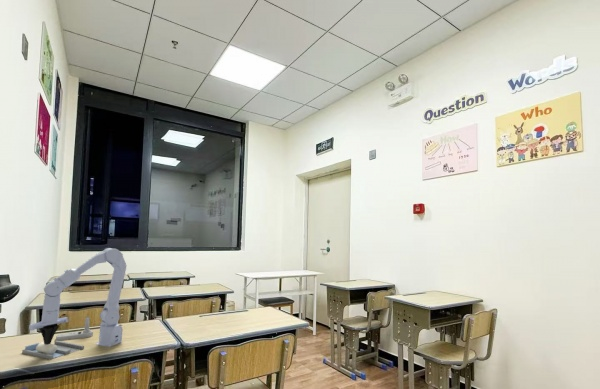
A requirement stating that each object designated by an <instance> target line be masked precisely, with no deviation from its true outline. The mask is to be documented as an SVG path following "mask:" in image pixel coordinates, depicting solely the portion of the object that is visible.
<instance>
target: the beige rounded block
mask: <svg viewBox="0 0 600 389" xmlns="http://www.w3.org/2000/svg"><path fill="white" fill-rule="evenodd" d="M38 343H39V344H38V345H37V347H36V351H37V352H40V353H44V354H49V355H52V354H54V353H55V352H56V350H57V346H56V345H55V344H54V343H51V344H44V341H42V342H38Z"/></svg>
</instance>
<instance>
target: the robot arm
mask: <svg viewBox="0 0 600 389" xmlns="http://www.w3.org/2000/svg"><path fill="white" fill-rule="evenodd" d="M104 263H105V264H106V263H108V264H110V266H112V268H113V273H112V277H111V281H110V286H109V290H108V294H107V298H106V302H105V304H104V306H103V309H102V310H101V311H100V314H99V318H100V320H101V322H100V324H99V334H98V336H99V337H98V342H95V343H94V345H97V346H101V347H112V346H115V345H118V344H121V343H123V342H124V341H123V340H122V339H123V331H124V330H123V327H122V326H121V325H120V324H119V320H120V318H121V317H120V304H119V301H120V298H121V294H122V288H123V284H124V279H125V275H126V270H127V263H126V261H125V258H124V254H123V252H121V251H120V250H119V249H117V248H111V247H106V248H104V250H101V251H99V252H98V253H96V254H95V255H94V256H92V257H91V258H89V259H88V260H86V261H85V262H84V263H82V264H80V265H79V266H78V267H77V268H70V269H66V270H64V273H63V274H61V275H59V276H58V277H54V278H53V280H52V281H49V282H47V283H46V284H45V286H44V288H43V291H44V298H43V303H42V304H43V305H42V312H41V313H42V315H41V321H39V322H36V323H31V324H29V325H28V326H29V327H28V330H29V331H35V330H39V331H40V334H41V337H42V339H43V342H44V344H52V340H53V339H54V336H55V335H56V332H57V331H58V329H59V328H60V325H59V324H65V323H69V317H66V316H65V317H64V316H63V317H60V318H59V315H60V305H61V295H62V293H63V290H64V289H66V288H69V287H70V286H71V285H72V284H74V283H75V282H77V281H78V280H79V279H80V277H81V275H82V274H83V273H85V272H87V271H88V270H90V269H92V268H93V267H95V266H96V265H97V264H98V265H99V264H104Z"/></svg>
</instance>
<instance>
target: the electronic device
mask: <svg viewBox="0 0 600 389" xmlns="http://www.w3.org/2000/svg"><path fill="white" fill-rule="evenodd" d="M90 317H91V316H86V317H85V318H84V329H83V331H82V330H81V331H75V332H67V333H60V334H57V335H56V336H55V341H67V340H74V339H83V338H84V339H85V338H89V337H93V335H94V331H93V330H92V329H90V319H91V318H90Z"/></svg>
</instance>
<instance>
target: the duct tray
mask: <svg viewBox="0 0 600 389" xmlns="http://www.w3.org/2000/svg"><path fill="white" fill-rule="evenodd" d="M39 343H40V342H36V343H33V344H29V345H26V346H24V347H25V348H24V349H22V350H21V351H22V352H21V353H22V354H23V355H29V356H32V357H33V356H34V357H37V358H43V359H47V360H53V359H56V358H60V357H62V356H65V355H69V354H72V353H75V352H78V351H81V350H84V349H85V345H82V344H77V343H72V342H66V341H63V340H55V341H54V343H53V344H55V345H56V346H57V350H56V352H55V353H54V354H52V355H49V354H44V353H40V352H37V351H36V347H37V345H38V344H39Z"/></svg>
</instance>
